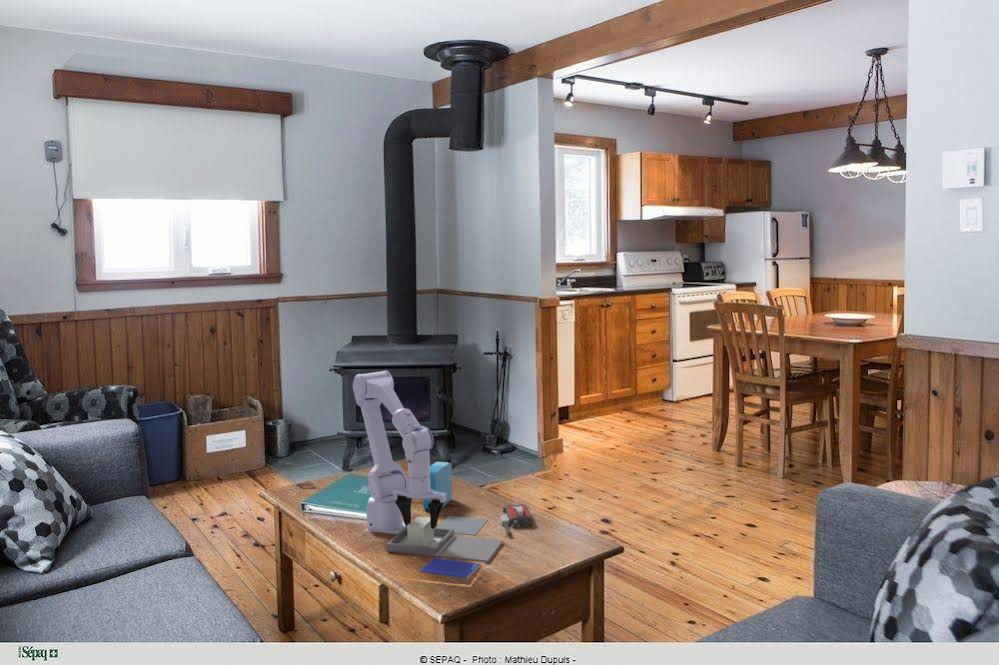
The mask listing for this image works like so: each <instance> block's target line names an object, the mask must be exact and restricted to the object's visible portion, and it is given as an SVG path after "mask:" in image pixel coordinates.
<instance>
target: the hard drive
mask: <svg viewBox="0 0 999 665" xmlns="http://www.w3.org/2000/svg"><path fill="white" fill-rule="evenodd" d="M481 566H482V565H481V563H480V564H479V563H476V562H475V563H473V562H467V561H461V560H454V559H449V558H446V559H445V558H442V557H433V559H431V560H430V561H429V562H428V563H427V564H425V566H423V567H422V568H421V569H420V571H419V572H421V573H426V574H433V575H437V576H438V575H439V576H444V577H450V578H451V577H452V578H458V579H464V580H468V579H470V577H471V576H472V575H473V574H474V573H475V572H476V571H477V570H478V569H479V568H480V567H481Z"/></svg>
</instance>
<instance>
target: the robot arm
mask: <svg viewBox="0 0 999 665" xmlns="http://www.w3.org/2000/svg"><path fill="white" fill-rule="evenodd" d="M394 387H395V382H394V378H393V376H392V375H391V373H390V372H389V371H388V370H382V371H375V372H368V373H358V374H356V375H355V376H354V378H353V382H352V390H353V394H354V399H355V403H356V405H357V406H359V407H360V409H361V414H362V417H363V421H364V422H363V423H364V427H365V430H366V434H367V438H368V439H367V440H368V443H369V447H370V448H369V449H370V451H371V456H372V459H373V463H374V464H373V465H374V466H372V468H371V469H370V471H369V472H368V474H367V481H368V486H367V488H368V493H369V495H370V497H369V499H368V500H367V504H366V527H367V528H366V529H365V531H366V532H373V533H374V532H375V533H383V534H384V533H385V534H395V535H397V534H398V533H399V532H400V531H401V530H402V529H403V528H404V527H405V526H407V525H409V524H410V523H411V522H412V513H411V512H412V511H411V510H412V500H413V499H416V500H422V501H423V500H432V502H430V503H429V504H428V507H429V509H428V511H429V516H430V522H431V529H434V528H437V527H438V521H439V516H440V513H441V511H442V508H443V507H444V506H443V504H444V502H445V501H446V500H447V497H446V493H441V492H438V491H434V490H431V488H430V466H431V465H430V463H431V462H430V460H431V458H430V450H432V449H433V447H434V435H433V433H432V431H431V429H429V428H428V427H425V426H424V425H421V424H420V422H419V421H418V419H417V418H416V417H415V415H414V414H413V412H412V410H410V409H409V408H405V407H404V406H403V404H402V402H401V400H400V398H399V397H398V395H397V392H395V390H394V389H395V388H394ZM382 404H383V406H384V407H385V408H386V409H387V410H388V412H389V413H390V414H391V416H392V418H391V422H392V423H391V424H393V426H394V427H395V429H396V430H397V432H398V434H399V435H400V437H401V438H402V440H401V442H402V448H403V451H404V456H405V459H406V460H407V475H406V473H405V471H404V469H403V466H402V465H401V464H399V463H398V462H396V461H394V460H393V456H392V451H391V447H390V444H389V441H388V435H387V432H386V428H385V424H384V421H383V419H384V418H383V416H382V412H381V407H380V406H381V405H382ZM442 506H443V507H442Z"/></svg>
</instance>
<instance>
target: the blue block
mask: <svg viewBox="0 0 999 665" xmlns="http://www.w3.org/2000/svg"><path fill="white" fill-rule="evenodd" d="M452 468H453V467H452V463H451V462H445V461H435V462H434V463H433V464H431V465H430V488H431V490H434V491H438V492H441V493H446V497H447V500H446V501H445V502H444V504H443V506H442V508H444V506H445V505H447V504H448V503H450V501H451V500H452V498H453V478H452V474H453V472H452ZM430 502H432V500H423V499H422V507H423V509H425V510H429V507H428V504H429V503H430Z"/></svg>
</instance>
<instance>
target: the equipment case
mask: <svg viewBox="0 0 999 665" xmlns="http://www.w3.org/2000/svg"><path fill="white" fill-rule="evenodd" d="M408 525H409V524H408ZM408 525H407V526H408ZM407 526H405V527H404V528H403V529H402V530H401V531H400V532H399V533H397V534H395V536H393V537H392V538H391V539H389V541H387V542H386V546H385V547H386V552H389V553H390V552H391V553H399V554H409V555H417V556H418V555H419V556H429V557H435V558H446V559H456V560H467V561H477V562H484V564H489V563H490V561H491V559H493V557H494V556H495V554H496V553H497V552H498V550H499V549H500V548H501V546H502V545H503V543H504V540H503V539H496V538H486V537H476V536H464V535H463V536H462V535H455V533H454V529H445V528H437V527H435V528H434V540H433V541H432V542H431V543H430V544H429V545H428V546H417V545H408V532H407Z"/></svg>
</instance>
